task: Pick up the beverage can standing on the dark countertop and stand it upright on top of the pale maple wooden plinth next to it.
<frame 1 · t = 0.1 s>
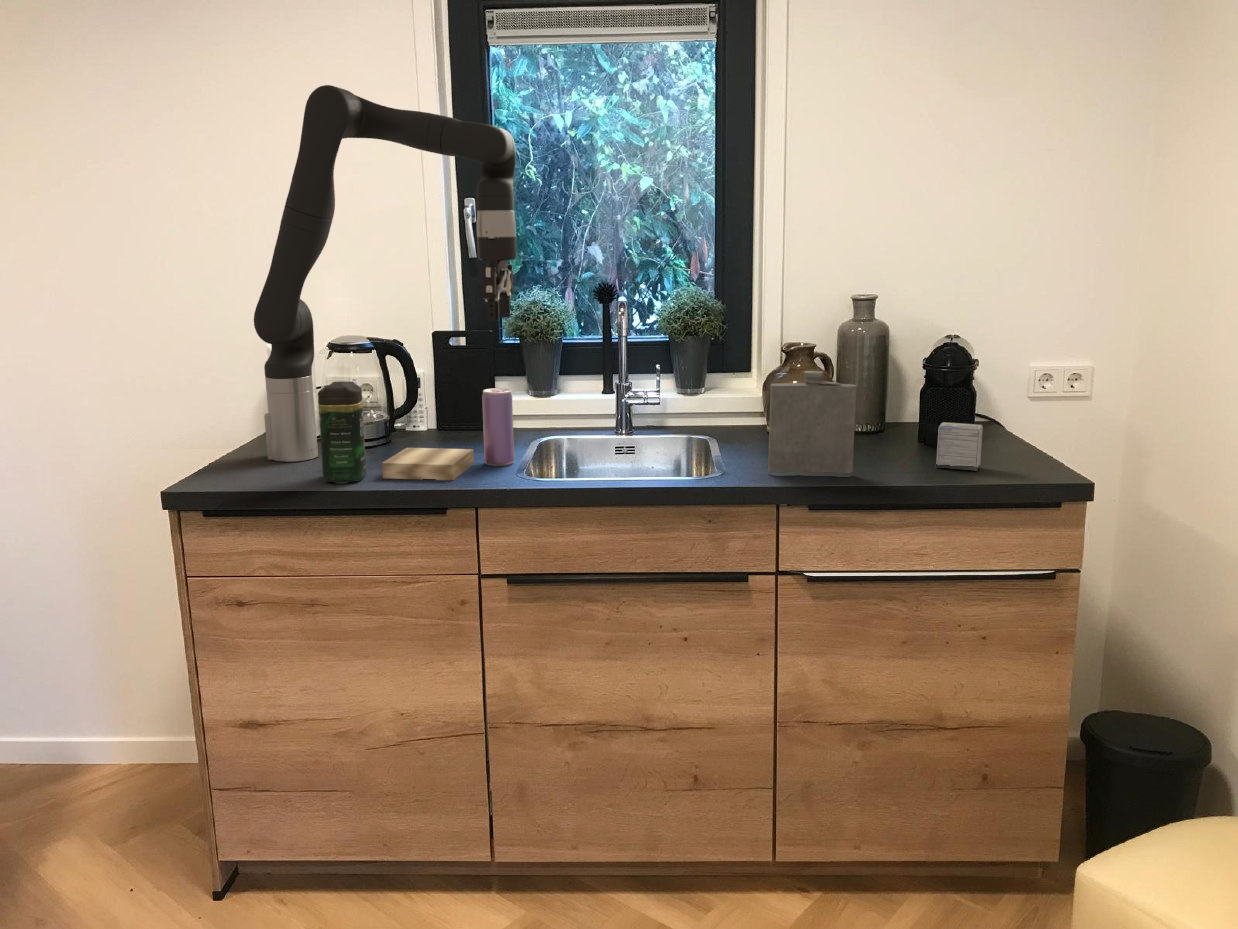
hand: (499, 319, 200), 29 cm above the table, fingers open, 8 cm apart
medicine box: (957, 469, 200), on the table
hip flask: (809, 475, 196), on the table
plinth: (429, 470, 201), on the table
coffee jar: (346, 479, 195), on the table
beverage can: (499, 464, 207), on the table
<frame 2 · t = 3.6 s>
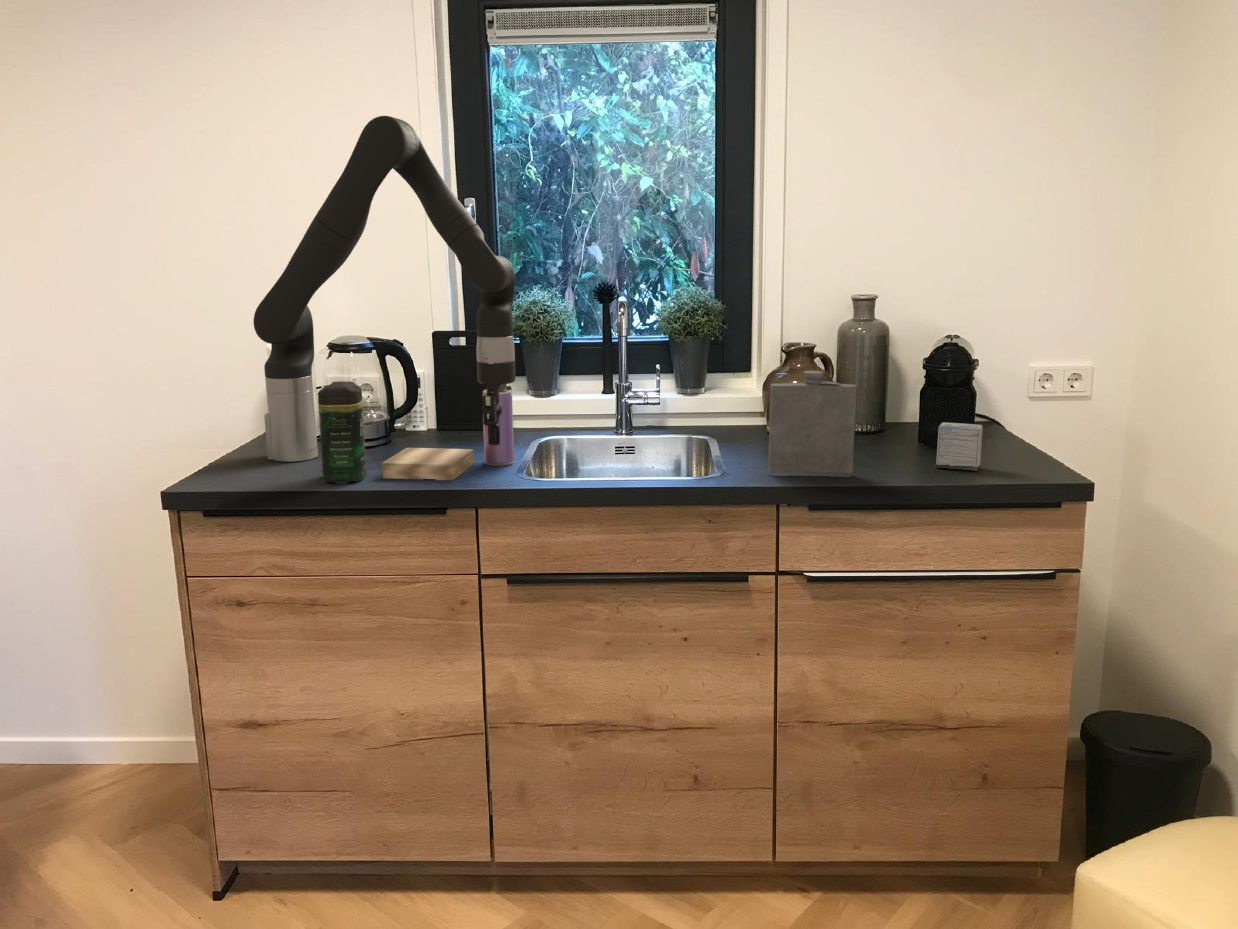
hand: (498, 441, 206), 5 cm above the table, fingers closed on beverage can, 6 cm apart
beverage can: (499, 464, 207), on the table, touching gripper
everything else where it was.
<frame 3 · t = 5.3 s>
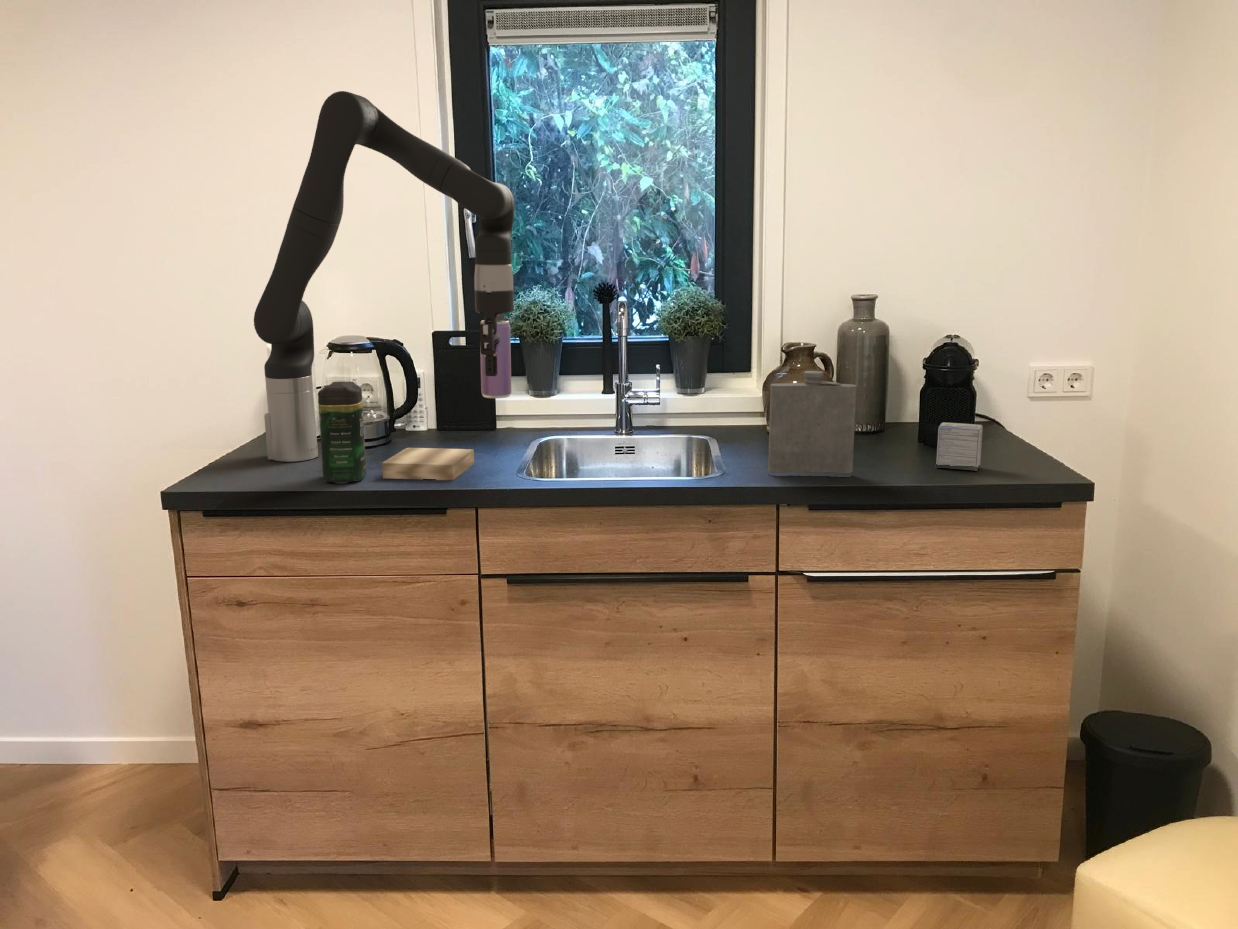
hand: (495, 373, 203), 18 cm above the table, fingers closed on beverage can, 6 cm apart
beverage can: (496, 397, 204), point 14 cm above the table, touching gripper
everything else where it was.
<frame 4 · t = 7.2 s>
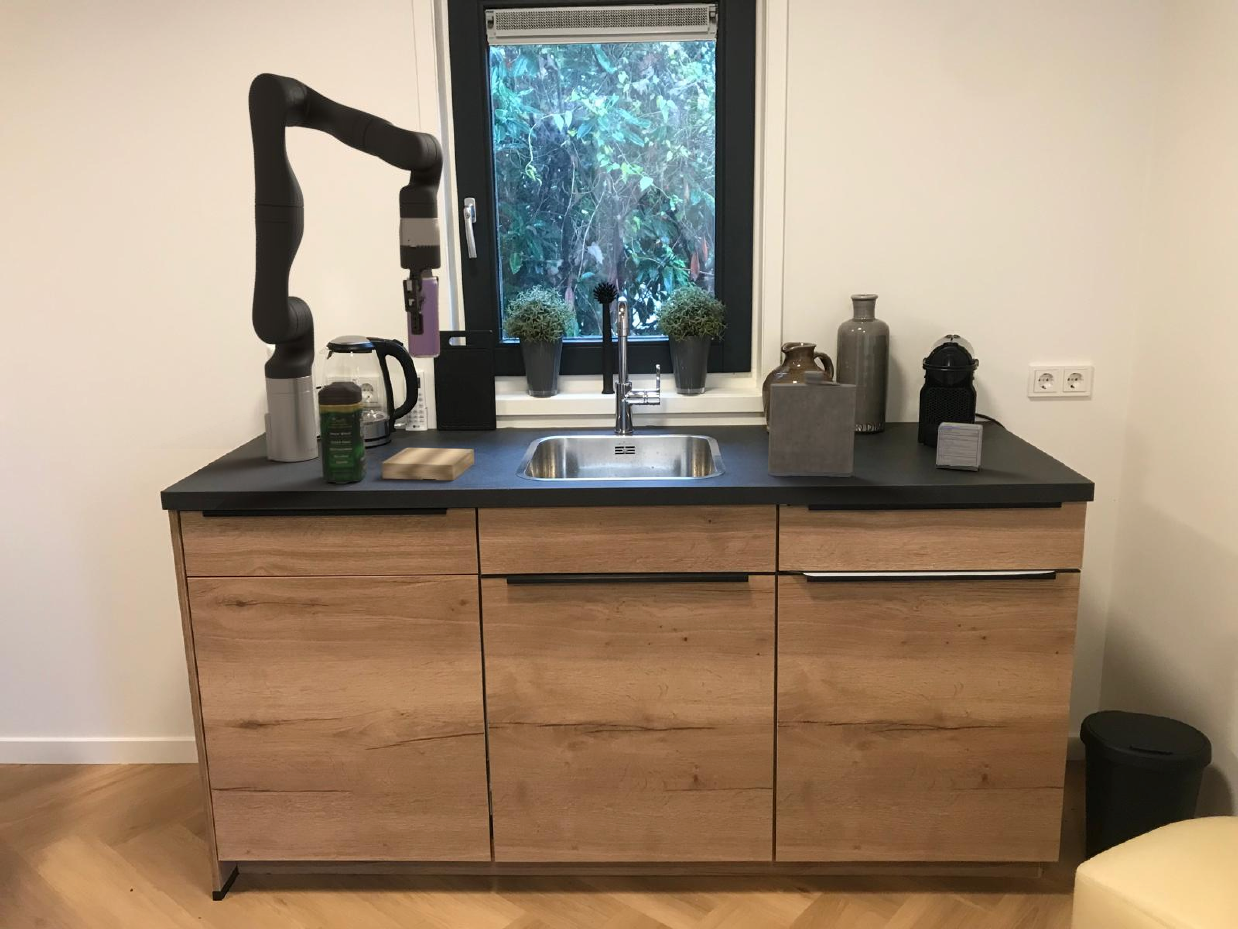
hand: (423, 332, 195), 27 cm above the table, fingers closed on beverage can, 6 cm apart
beverage can: (424, 357, 196), point 22 cm above the table, touching gripper
everything else where it was.
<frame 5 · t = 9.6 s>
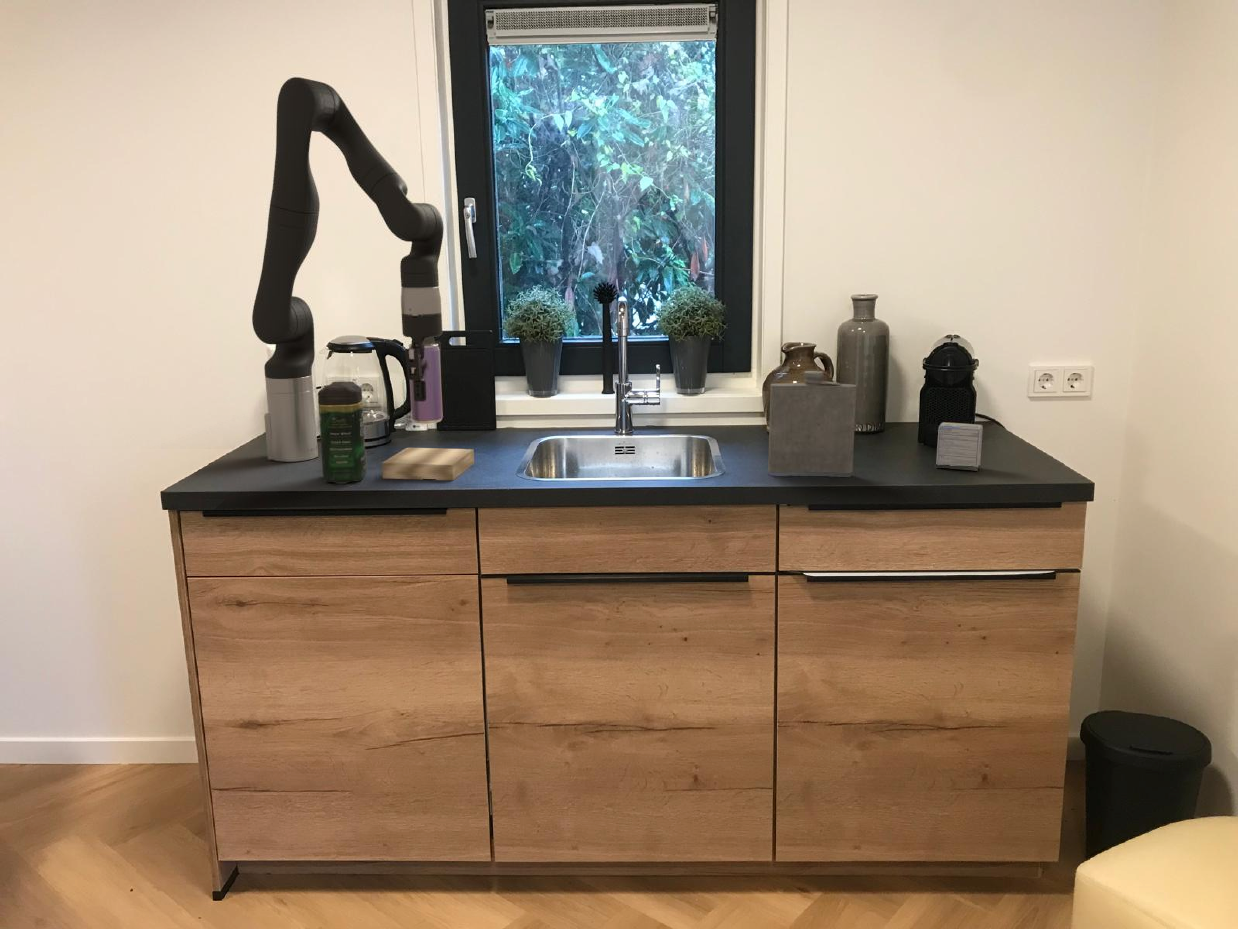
hand: (425, 397, 197), 15 cm above the table, fingers closed on beverage can, 6 cm apart
beverage can: (427, 422, 199), point 10 cm above the table, touching gripper
everything else where it was.
when the fingers open (9 cm above the table, at t = 11.3 s): beverage can drops 1 cm, resting on plinth.
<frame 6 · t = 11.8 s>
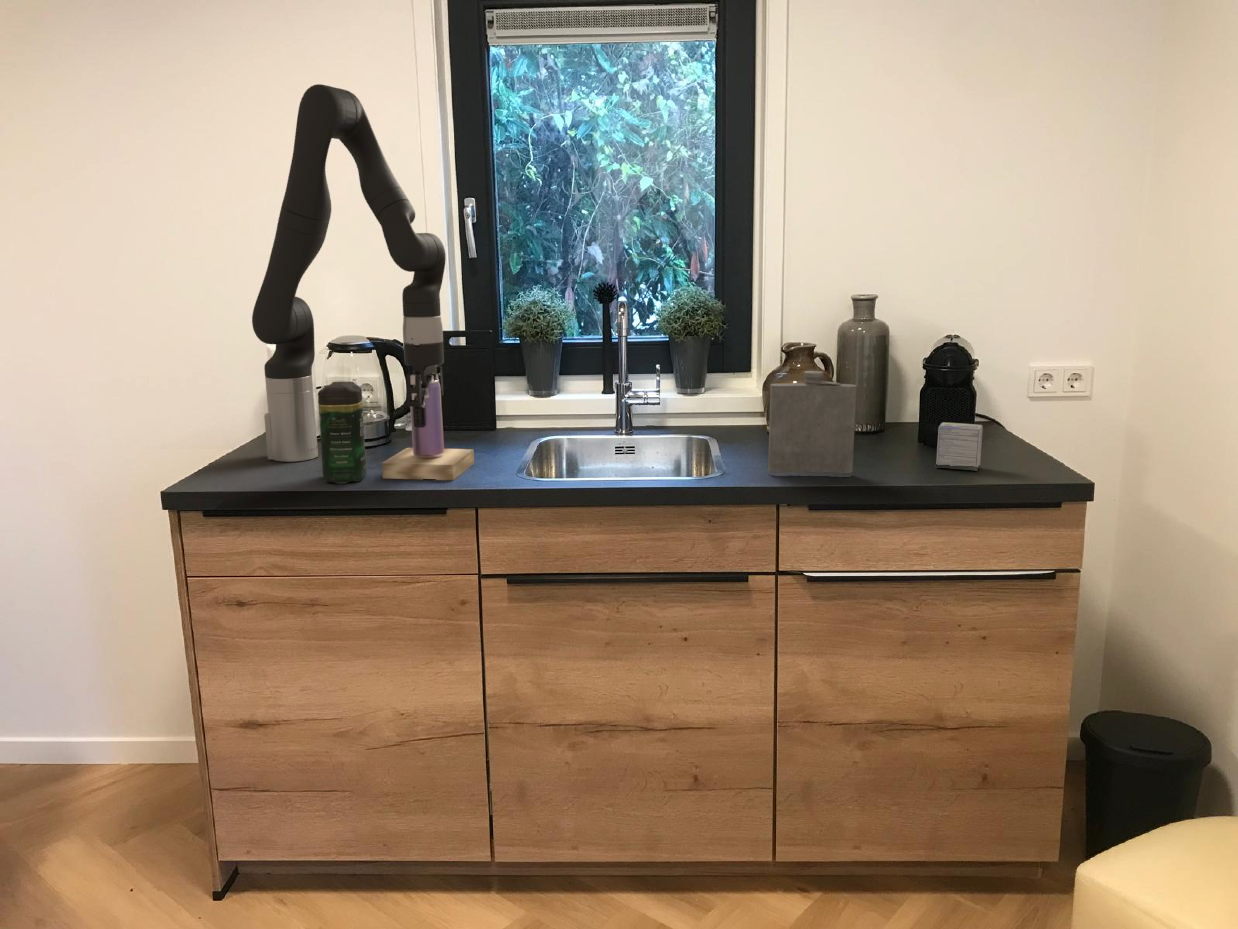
hand: (427, 422, 199), 10 cm above the table, fingers open, 8 cm apart
beverage can: (428, 456, 200), point 3 cm above the table, touching plinth
everything else where it was.
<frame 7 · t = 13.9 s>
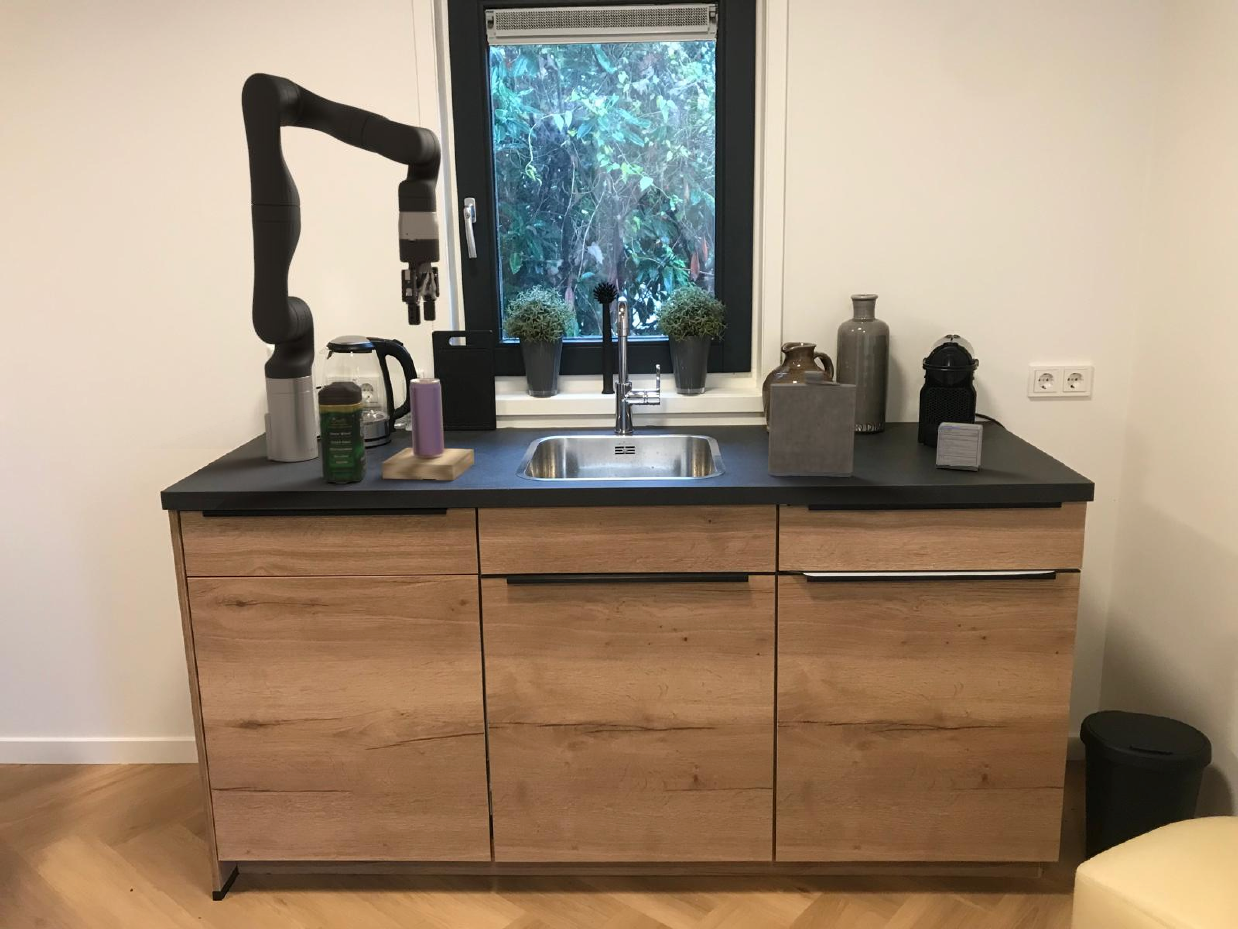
hand: (422, 322, 196), 29 cm above the table, fingers open, 8 cm apart
nothing on the table moved.
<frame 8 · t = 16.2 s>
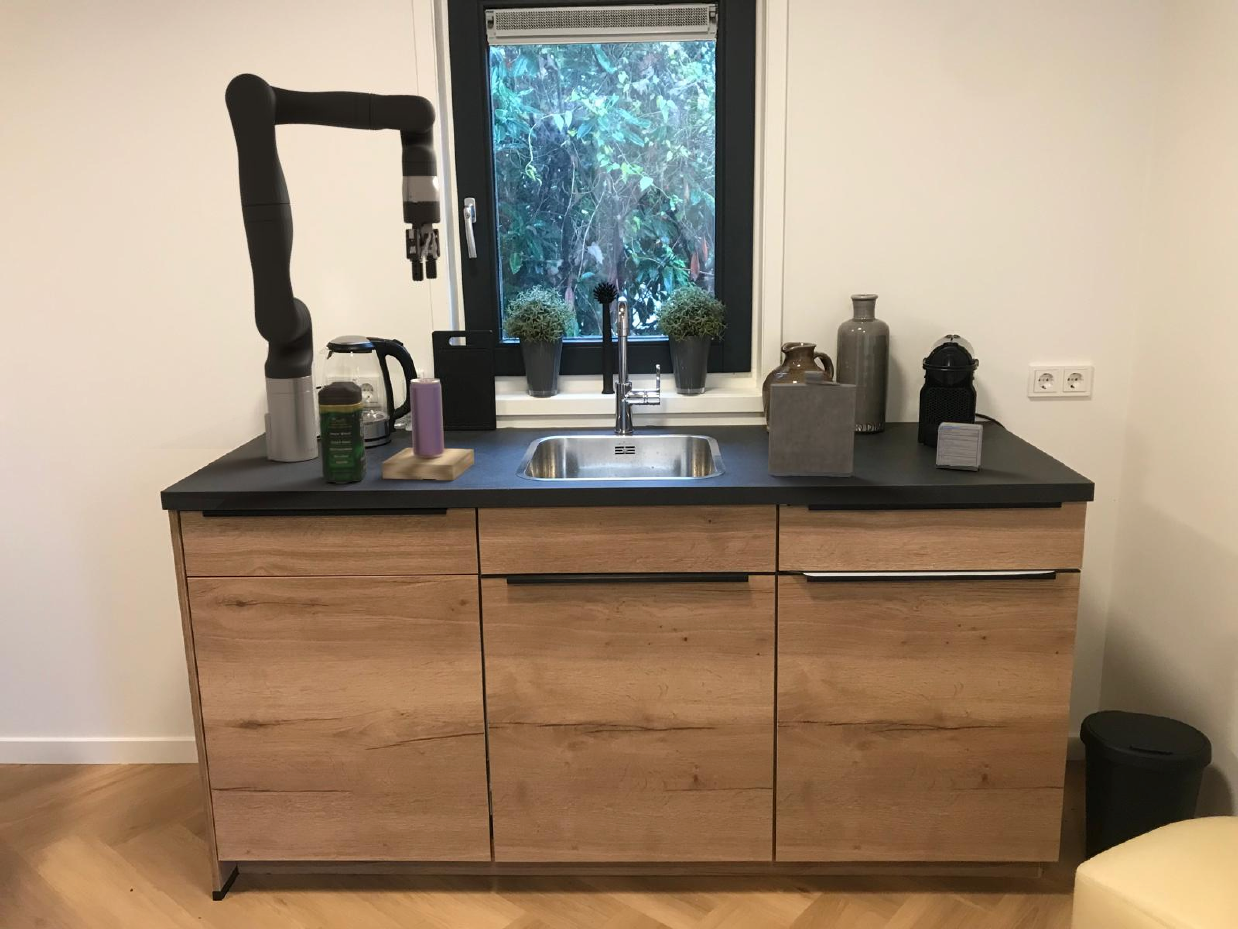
hand: (425, 279, 213), 36 cm above the table, fingers open, 8 cm apart
nothing on the table moved.
at the end: beverage can inside the target area on the plinth (0.1 cm from its centre), point 2.8 cm above the plinth's base; beverage can tilted 0°; the gripper is holding nothing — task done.
